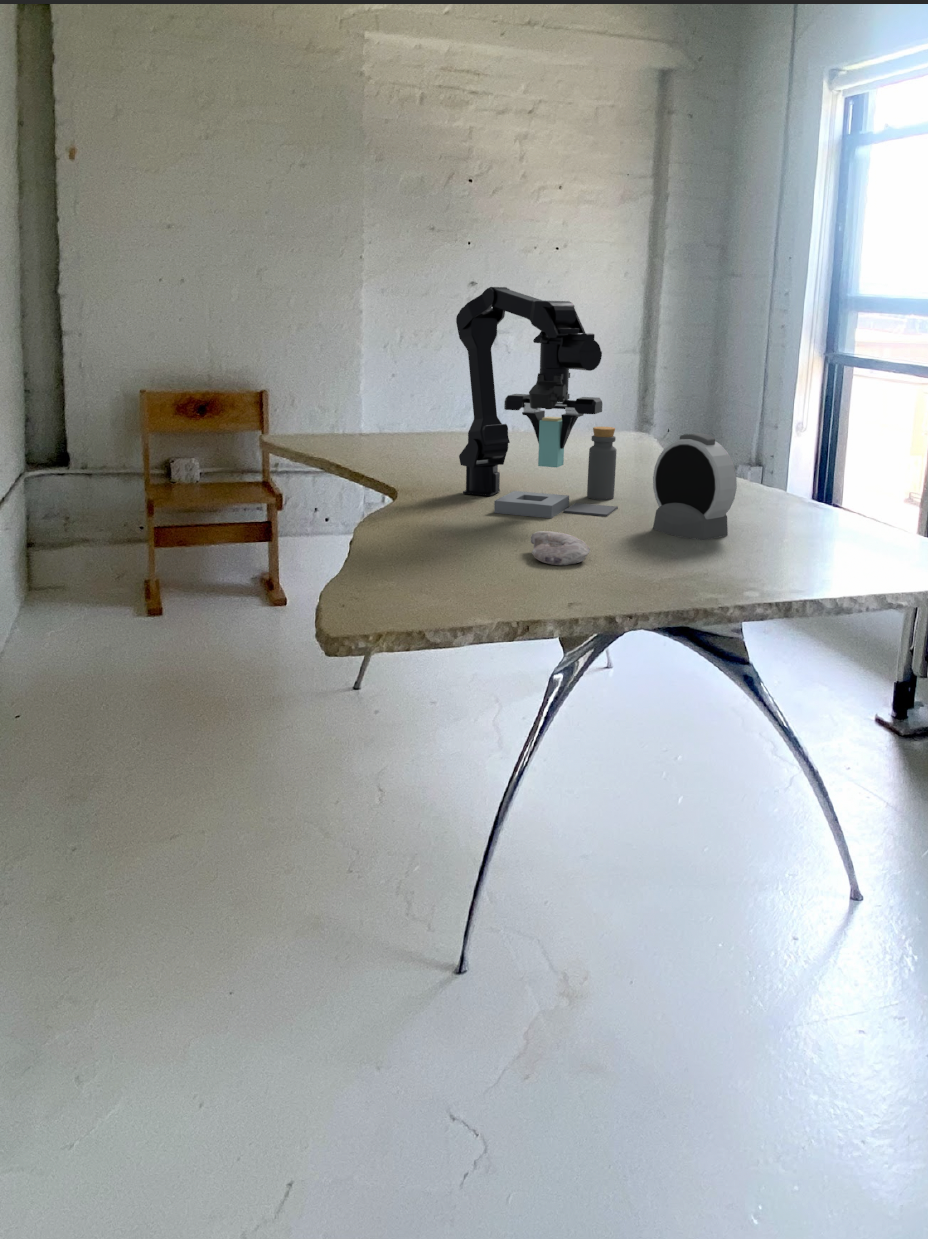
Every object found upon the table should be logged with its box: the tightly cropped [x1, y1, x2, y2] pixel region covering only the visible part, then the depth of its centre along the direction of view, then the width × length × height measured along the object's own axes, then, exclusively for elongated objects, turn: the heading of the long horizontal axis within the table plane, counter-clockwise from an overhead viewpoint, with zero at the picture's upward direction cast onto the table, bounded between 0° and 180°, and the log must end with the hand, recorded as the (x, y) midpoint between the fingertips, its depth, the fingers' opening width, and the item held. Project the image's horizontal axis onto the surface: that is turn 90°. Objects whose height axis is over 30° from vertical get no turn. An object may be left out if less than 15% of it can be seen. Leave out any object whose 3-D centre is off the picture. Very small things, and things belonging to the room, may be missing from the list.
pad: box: [562, 502, 619, 517], centre depth 217 cm, size 9×9×1 cm
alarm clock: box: [652, 432, 738, 541], centre depth 197 cm, size 16×10×18 cm, turn 37°
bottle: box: [586, 426, 618, 501], centre depth 229 cm, size 6×6×15 cm
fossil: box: [530, 530, 591, 566], centre depth 178 cm, size 12×4×10 cm
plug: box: [537, 416, 565, 468], centre depth 212 cm, size 4×4×10 cm
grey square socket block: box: [493, 490, 570, 519], centre depth 216 cm, size 12×12×2 cm
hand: (551, 447), depth 213 cm, fingers closed on plug, 4 cm apart
